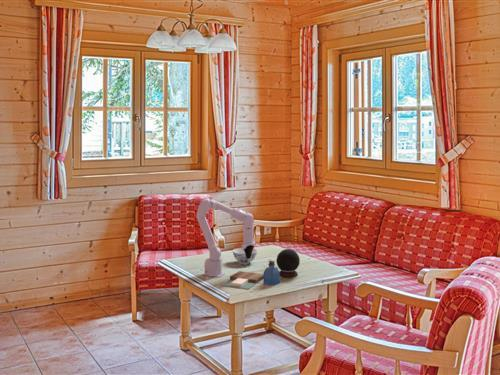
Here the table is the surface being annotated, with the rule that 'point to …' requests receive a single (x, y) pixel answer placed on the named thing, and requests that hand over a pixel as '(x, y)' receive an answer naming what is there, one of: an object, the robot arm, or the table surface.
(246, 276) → the deck
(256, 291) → the table surface
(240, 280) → the tile
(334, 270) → the table surface
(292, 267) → the black ball on stand
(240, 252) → the chinaware
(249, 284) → the mat
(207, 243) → the robot arm
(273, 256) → the table surface
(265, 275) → the perfume bottle
